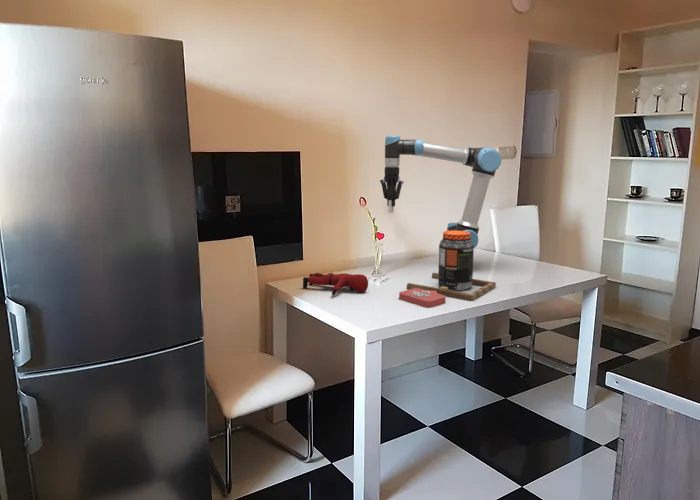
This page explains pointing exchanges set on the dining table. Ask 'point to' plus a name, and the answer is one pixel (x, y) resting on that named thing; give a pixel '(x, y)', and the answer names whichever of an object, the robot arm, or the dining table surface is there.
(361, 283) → the toy
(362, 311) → the dining table surface
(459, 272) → the supplement tub
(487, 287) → the beam slot
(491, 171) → the robot arm
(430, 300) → the plaque
